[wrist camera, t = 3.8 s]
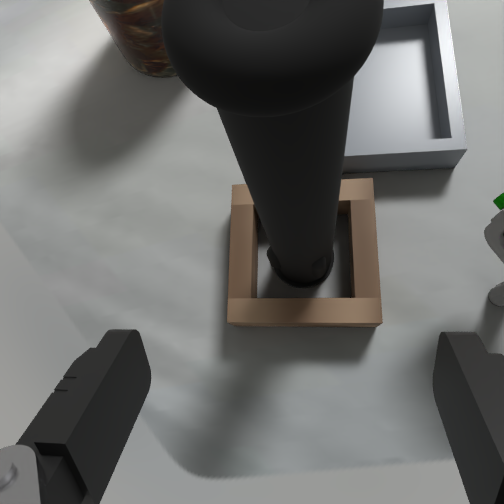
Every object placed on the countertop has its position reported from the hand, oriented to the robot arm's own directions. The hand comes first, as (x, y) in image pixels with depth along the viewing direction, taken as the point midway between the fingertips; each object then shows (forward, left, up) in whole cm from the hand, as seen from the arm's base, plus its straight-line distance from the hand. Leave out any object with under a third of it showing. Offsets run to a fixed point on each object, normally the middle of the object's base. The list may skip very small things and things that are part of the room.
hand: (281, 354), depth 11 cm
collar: (0, -8, -21) cm, 22 cm away
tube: (0, -8, -21) cm, 23 cm away
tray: (-5, -23, -21) cm, 32 cm away
